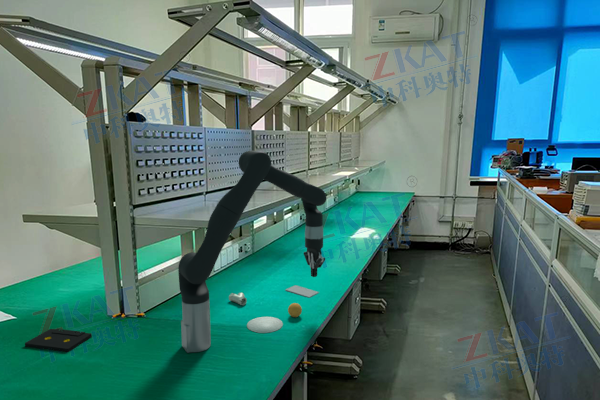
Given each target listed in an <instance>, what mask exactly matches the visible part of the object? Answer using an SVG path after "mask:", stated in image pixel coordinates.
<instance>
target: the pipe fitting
mask: <svg viewBox="0 0 600 400" xmlns="http://www.w3.org/2000/svg"><path fill="white" fill-rule="evenodd" d="M228 300H229V301H231V302H232V303H236V304H238V305H240V306H245V305H246V304H247V301H248V300H247V297H246V296H245V294H244V293H243V292H238V293H233V292H231V293H230V294H229V295H228Z"/></svg>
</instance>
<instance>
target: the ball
mask: <svg viewBox="0 0 600 400" xmlns="http://www.w3.org/2000/svg"><path fill="white" fill-rule="evenodd" d="M302 310H303V308H302V306H301V304H299V303H298V302H297V303H296V302H293V303H291V304H290V305H289V306H288V308H287V312H288V314H289V315H290V316H291V317H292V318H297V317H299V316H300V315H301V314H302Z"/></svg>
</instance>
